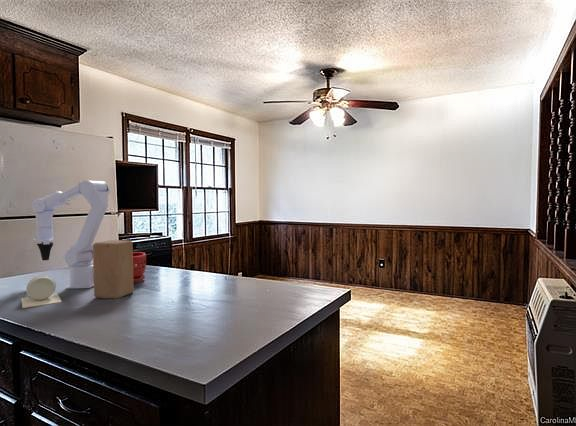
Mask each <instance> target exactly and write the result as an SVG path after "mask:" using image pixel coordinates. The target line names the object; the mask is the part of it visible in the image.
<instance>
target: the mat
mask: <svg viewBox="0 0 576 426" xmlns="http://www.w3.org/2000/svg"><path fill="white" fill-rule="evenodd" d="M20 299H21V300H20V301H21V307H22V309H27V308H33V307H37V306H38V307H39V306H46V305H51V304H52V305H53V304H60V303H63V302H62V300H61V297H60V296H59V294H58V293H53V294H52V295H51V296H50V297H49V298H47V299H44V300H35V299H32V298H31V297H30V296H27V297H22V298H20Z"/></svg>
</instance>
